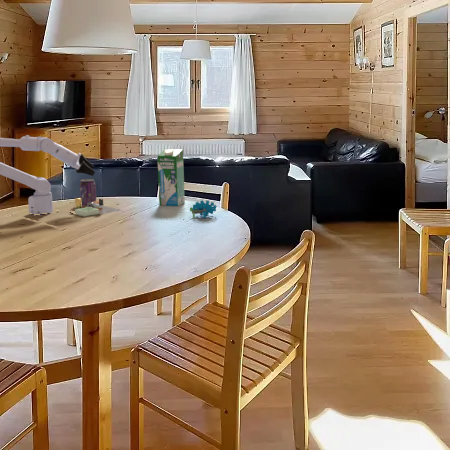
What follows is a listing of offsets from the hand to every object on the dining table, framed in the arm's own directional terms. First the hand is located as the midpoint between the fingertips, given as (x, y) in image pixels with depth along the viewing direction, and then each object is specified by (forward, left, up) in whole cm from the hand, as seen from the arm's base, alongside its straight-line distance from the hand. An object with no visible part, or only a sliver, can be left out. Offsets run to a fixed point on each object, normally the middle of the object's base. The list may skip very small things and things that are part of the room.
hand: (93, 170), depth 267 cm
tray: (-10, -8, -17) cm, 21 cm away
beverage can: (+4, +12, -18) cm, 21 cm away
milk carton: (+32, -14, -18) cm, 39 cm away
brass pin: (-8, +1, -17) cm, 19 cm away
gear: (+22, -47, -18) cm, 54 cm away
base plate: (-4, -4, -17) cm, 18 cm away
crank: (-4, -7, -14) cm, 16 cm away
